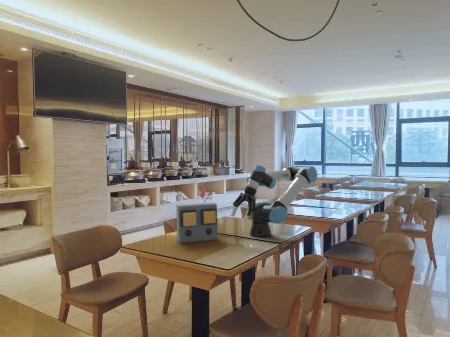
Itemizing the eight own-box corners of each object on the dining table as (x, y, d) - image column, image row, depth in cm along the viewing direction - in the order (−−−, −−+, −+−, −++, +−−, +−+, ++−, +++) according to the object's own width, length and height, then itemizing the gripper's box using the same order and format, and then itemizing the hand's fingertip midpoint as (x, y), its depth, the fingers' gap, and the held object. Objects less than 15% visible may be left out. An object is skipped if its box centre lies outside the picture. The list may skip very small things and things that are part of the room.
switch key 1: (183, 225, 225) (182, 213, 225) (195, 224, 228) (195, 212, 227) (184, 226, 222) (183, 213, 222) (196, 225, 225) (196, 212, 224)
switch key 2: (202, 222, 233) (202, 210, 232) (214, 221, 235) (214, 210, 235) (204, 223, 230) (203, 211, 229) (215, 222, 232) (215, 210, 232)
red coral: (216, 224, 287) (214, 182, 286) (207, 231, 262) (205, 184, 261) (198, 224, 291) (196, 182, 290) (187, 231, 266) (185, 185, 265)
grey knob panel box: (177, 240, 236) (176, 204, 235) (214, 236, 244) (213, 202, 243) (180, 243, 226) (179, 206, 225) (218, 239, 234) (217, 204, 234)
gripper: (236, 183, 233) (223, 212, 229) (260, 188, 213) (246, 220, 209) (243, 187, 237) (231, 216, 233) (268, 193, 217) (255, 224, 213)
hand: (238, 218), depth 221 cm, fingers open, 13 cm apart
